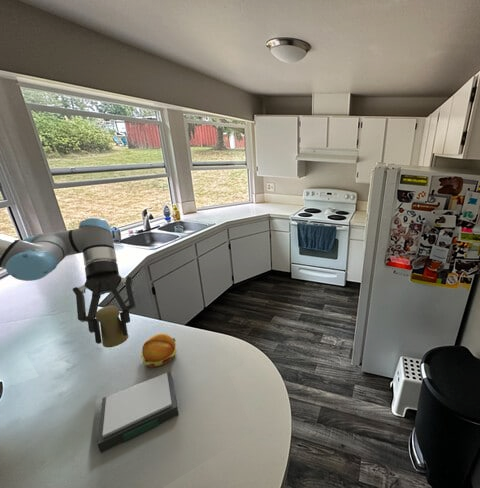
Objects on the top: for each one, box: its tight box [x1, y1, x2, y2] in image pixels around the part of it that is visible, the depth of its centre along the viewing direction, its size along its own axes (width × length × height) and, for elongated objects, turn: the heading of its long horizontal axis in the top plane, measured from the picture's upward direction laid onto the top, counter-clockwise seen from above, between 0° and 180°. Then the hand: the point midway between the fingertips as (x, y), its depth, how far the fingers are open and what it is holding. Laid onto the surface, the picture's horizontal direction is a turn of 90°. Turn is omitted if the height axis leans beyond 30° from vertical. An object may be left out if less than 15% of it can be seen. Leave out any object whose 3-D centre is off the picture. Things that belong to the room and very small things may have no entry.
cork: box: [95, 305, 129, 348], centre depth 72 cm, size 6×6×11 cm
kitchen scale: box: [96, 371, 180, 453], centre depth 67 cm, size 16×14×4 cm
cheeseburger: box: [141, 333, 178, 368], centre depth 83 cm, size 10×11×10 cm
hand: (112, 338), depth 70 cm, fingers closed on cork, 5 cm apart
